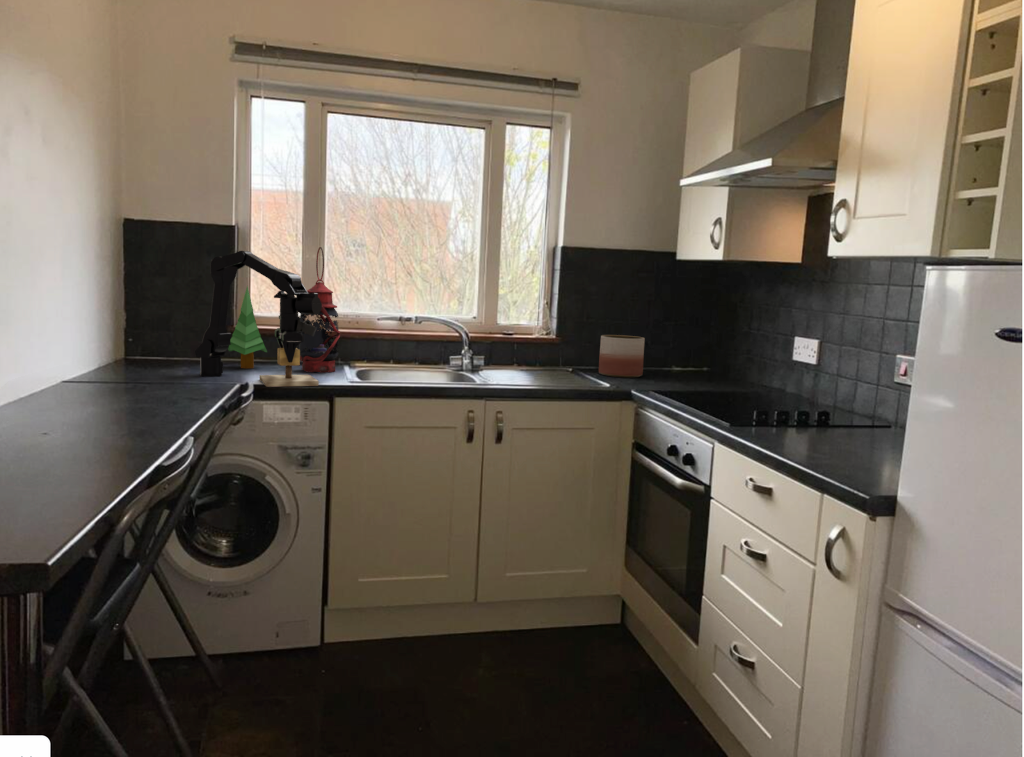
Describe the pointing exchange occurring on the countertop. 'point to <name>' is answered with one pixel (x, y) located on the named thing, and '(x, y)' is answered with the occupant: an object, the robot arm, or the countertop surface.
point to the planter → (621, 356)
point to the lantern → (320, 332)
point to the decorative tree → (246, 334)
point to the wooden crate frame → (284, 361)
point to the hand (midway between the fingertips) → (288, 361)
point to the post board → (288, 379)
